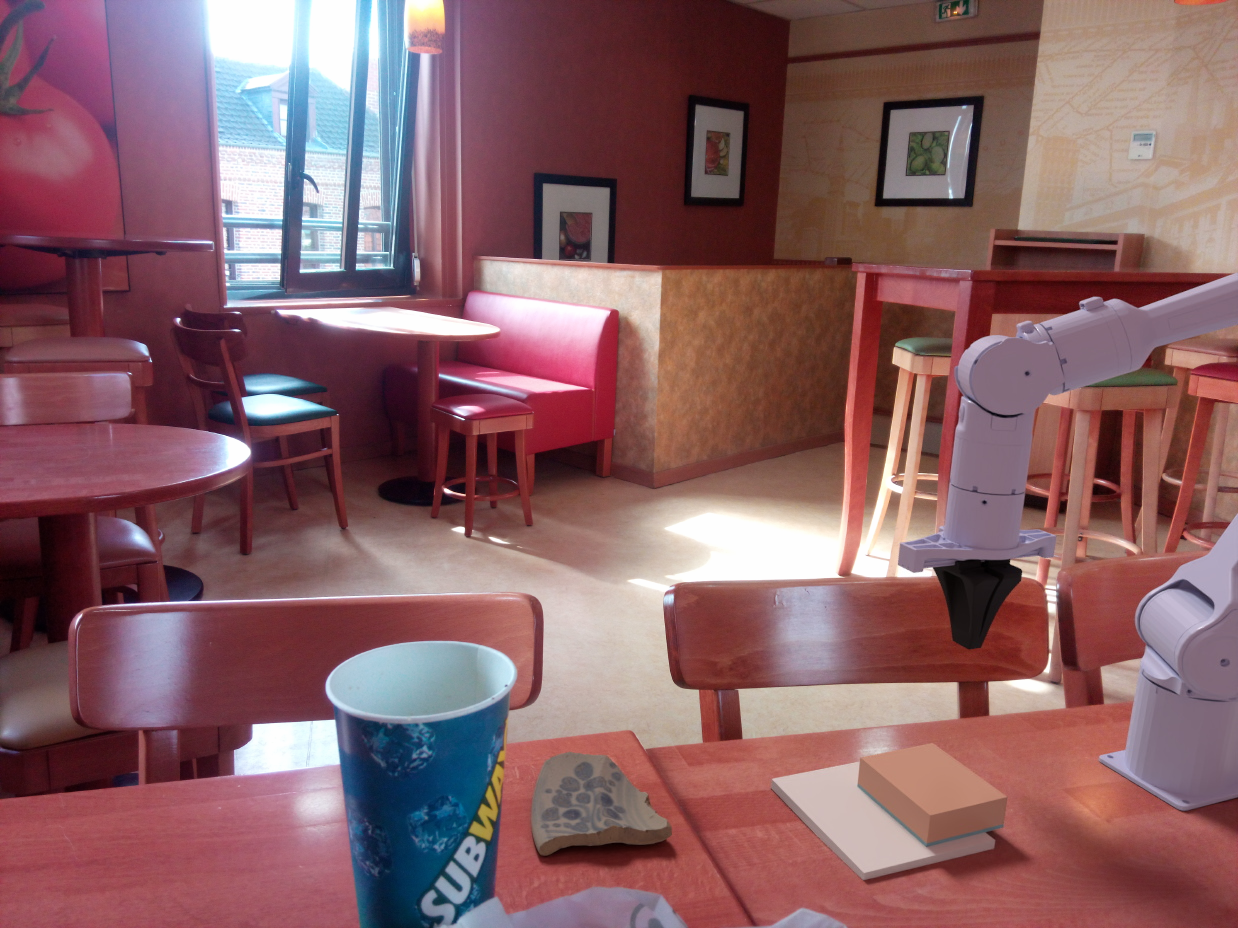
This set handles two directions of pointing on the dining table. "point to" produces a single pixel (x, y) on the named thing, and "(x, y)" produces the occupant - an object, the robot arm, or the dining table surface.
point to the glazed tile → (931, 794)
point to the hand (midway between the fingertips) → (966, 644)
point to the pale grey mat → (863, 824)
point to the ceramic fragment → (590, 805)
